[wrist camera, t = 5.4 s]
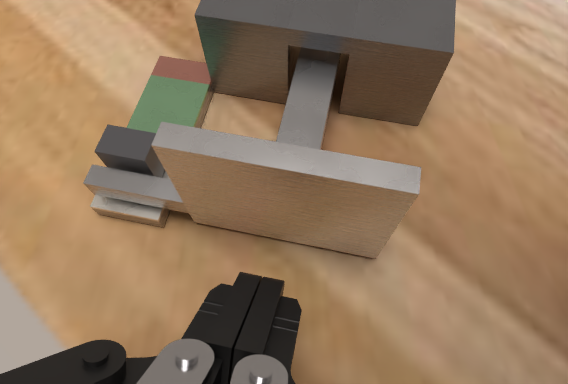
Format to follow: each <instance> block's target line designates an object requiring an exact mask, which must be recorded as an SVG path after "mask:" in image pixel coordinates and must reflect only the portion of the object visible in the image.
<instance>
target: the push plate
mask: <svg viewBox="0 0 568 384" xmlns="http://www.w3.org/2000/svg"><path fill="white" fill-rule="evenodd" d="M340 55H341V53H336V52H330V51H323V50H316V49H310V48H303V47H301V49H300V53H299V57H298V61H297V64H296V68H295V72H294V76H293V80H292V83H291V87H290V91H289V95H288V98H287V102H286V106H285V110H284V114H283V117H282V121H281V125H280V129H279V133H278V136H277V140H276V142H274V141H269V140H263V139H257V138H252V137H246V136H240V135H234V134H229V133H223V132H217V131H212V130H206V129H200V128H195V127H189V126H183V125H178V124H172V123H166V122H161V124H160V126H159V128H158V131H157V133H156V135H155V138H154V140H153V142H152V145H151V146H152V147H153V149H154V151H155V153H156V155H157V156H158V158H159V160H160V162H161V164H162V165H163V167H164V169H165V171H166V172H167V174H168V176H169V178H170V179H165V178H160V177H155V176H150V175H144V174H139V173H134V172H129V171H124V170H118V169H113V168H108V167H103V166H97V165H92V166H91V168H90V170H89V172H88V174H87V176H86V178H85V180H84V182H83V183H84V184H85V185H86V186H87V187H88V189H89V190H90V191H91V192H92V193H93V194H94V195H99V196H104V197H109V198H114V199H119V200H124V201H129V202H134V203H139V204H144V205H150V206H155V207H160V208H165V209H170V210H175V211H180V212H185V213H189V214H190V215H191V217H192V219H193V221H194V222H196V223H201V224H206V225H211V226H216V227H221V228H226V229H231V230H236V231H241V232H246V233H251V234H256V235H261V236H266V237H271V238H276V239H281V240H286V241H291V242H296V243H301V244H306V245H311V246H316V247H321V248H326V249H331V250H336V251H341V252H346V253H351V254H356V255H360V256H365V257H370V258H375V259H376V257H377V256H378V255H379V253H380V252H381V250H382V249H383V247H384V246H385V244H386V243H387V241H388V240H389V238H390V237H391V235H392V234H393V232H394V231H395V229H396V228H397V226H398V225H399V223H400V222H401V220H402V219H403V217H404V216H405V214H406V213H407V211H408V210H409V209H410V207H411V206H412V204H413V203H414V201H415V200H416V198H417V197H418V195H419V189H420V176H421V167H416V166H410V165H405V164H399V163H393V162H388V161H382V160H376V159H371V158H365V157H359V156H354V155H348V154H342V153H337V152H331V151H325V150H321V149H322V144H323V140H324V135H325V130H326V125H327V120H328V115H329V110H330V105H331V100H332V95H333V90H334V85H335V80H336V76H337V71H338V66H339V61H340Z"/></svg>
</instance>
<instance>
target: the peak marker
mask: <svg viewBox="0 0 568 384" xmlns="http://www.w3.org/2000/svg"><path fill="white" fill-rule="evenodd" d="M155 135H156V133H152V132H146V131H141V130H135V129H130V128H124V127H118V126H113V125H107V127H106V129H105V131H104V133H103V135H102V137H101V139H100V141H99V143H98V145H97V147H96V149H95V153H96V154H97V155H98V156H99V158H100V159H101V160H102V161H103V162H104V164H105V165H106V166H107V167H108V168H113V169H118V170H124V171H129V172H134V173H139V174H144V175H150V176H155V177H160V178H162V176H163V174H164V171H165V169H164V167H163V165H162V164H161V162H160V160H159V158H158V156H157V155H156V153H155V151H154V149H153V147H152V146H151V145H152V142H153V140H154V138H155Z"/></svg>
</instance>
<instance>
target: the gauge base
mask: <svg viewBox="0 0 568 384" xmlns="http://www.w3.org/2000/svg"><path fill="white" fill-rule="evenodd" d="M455 7H456V0H201V1H200V3H199V6H198V8H197V10H196V13H195V19H196V23H197V27H198V31H199V35H200V39H201V43H202V47H203V51H204V55H205V59H206V63H202V62H196V61H189V60H183V59H177V58H170V57H164V56H160V57H159V59H158V61H157V63H156V66H155V68H154V70H153V72H152V74H151V76H150V79H149V81H148V83H147V85H146V87H145V89H144V91H143V94H142V96H141V98H140V100H139V102H138V104H137V106H136V109H135V111H134V113H133V115H132V117H131V119H130V122H129V124H128V126H127V128H130V129H135V130H141V131H146V132H152V133H157V131H158V128H159V126H160V124H161V122H166V123H172V124H178V125H183V126H189V127H195V128H201V125H202V122H203V120H204V117H205V114H206V112H207V109H208V106H209V103H210V101H211V98H212V95H213V93H214V92H216V93H222V94H228V95H234V96H240V97H246V98H252V99H259V100H265V101H271V102H277V103H283V104H286V102H287V98H288V95H289V91H290V87H291V83H292V80H293V76H294V72H295V68H296V64H297V61H298V57H299V53H300V49H301V47H303V48H310V49H316V50H323V51H330V52H336V53H343V54H349V60H348V65H347V71H346V76H345V82H344V87H343V92H342V98H341V103H340V109H339V113H343V114H349V115H355V116H361V117H367V118H373V119H379V120H385V121H391V122H397V123H403V124H409V125H415V126H418V124H419V122H420V120H421V118H422V116H423V114H424V112H425V110H426V108H427V106H428V104H429V102H430V100H431V98H432V96H433V94H434V92H435V90H436V88H437V86H438V84H439V82H440V80H441V78H442V76H443V74H444V72H445V70H446V68H447V66H448V63H449V61H450V59H451V57H452V55H453V53H454V32H455ZM162 178H165V179H170V178H169V176H168V174H167V172H166V171H164V174H163V176H162ZM90 207H91V208H92V209H93V210H94V211H95V212H97V213H98V214H99V215H104V216H109V217H114V218H119V219H124V220H128V221H133V222H138V223H143V224H148V225H153V226H158V227H163V228H164V226H165V223H166V220H167V218H168V215H169V212H170V209H165V208H160V207H155V206H150V205H144V204H139V203H134V202H129V201H124V200H119V199H114V198H109V197H104V196H99V195H95V197H94V199H93V201H92V203H91V205H90Z"/></svg>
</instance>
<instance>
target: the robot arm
mask: <svg viewBox="0 0 568 384" xmlns="http://www.w3.org/2000/svg"><path fill="white" fill-rule="evenodd" d="M284 282H285V281H282V280H277V279H273V278H268V277H263V278H262V276H258V275H253V274H248V273H243V272H240V273H239V275H238V277H237V279H236V281H235V283H234V285H233V286H231V285H226V284H220V285H218V286H217V287H215V288H214V289H212V290H211V291H210V292H209V294H208V295H207V297H206V299H205V300H204V303H203V304H202V305H201V307H200V309H199V311H198V312H197V314H196V315H195V317H194V319H193V320H192V322H191V324H190V325H189V327H188V329H187V330H186V332H185V334H184V335H183V337H182V339H180V340H177V341H174V342H172V343H170V344H168V345H167V346H166V347H164V349H163V350H162V351H161V352H160V353H159V355H158V356H154V357H146V358H126V351H125V349H124V348H123V346H122V345H120V344H119V343H117V342H114V341H111V340H95V341H90V342H87V343H84V344H81V345H79V346H76V347H73V348H70V349H68V350H65V351H62V352H59V353H57V354H54V355H51V356H49V357H46V358H43V359H40V360H38V361H35V362H32V363H30V364H27V365H24V366H21V367H19V368H16V369H13V370H11V371H8V372H5V373H2V374H0V384H295V382H294V381H293V379H292V376H291V365H292V359H293V354H294V349H295V343H296V338H297V332H298V327H299V321H300V316H301V308H300V305H299V303H298V301H297V299H293V298H288V297H283V290H284Z"/></svg>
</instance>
